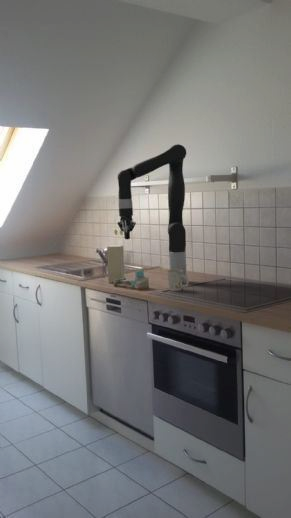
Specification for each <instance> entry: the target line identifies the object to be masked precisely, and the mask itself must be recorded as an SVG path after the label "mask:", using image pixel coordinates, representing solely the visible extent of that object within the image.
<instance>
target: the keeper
mask: <svg viewBox="0 0 291 518" xmlns="http://www.w3.org/2000/svg"><path fill="white" fill-rule="evenodd" d="M144 271H145V270H143V269H141V270H137V271H136V270H135V276H134V277H135V278H140V277H145V274H144V273H145V272H144ZM135 278H134V279H131V280H130V281H131V286H135Z"/></svg>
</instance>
